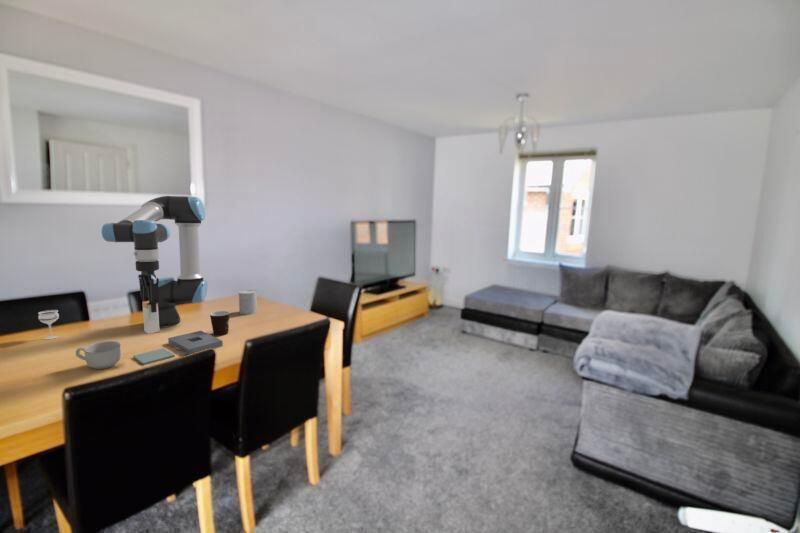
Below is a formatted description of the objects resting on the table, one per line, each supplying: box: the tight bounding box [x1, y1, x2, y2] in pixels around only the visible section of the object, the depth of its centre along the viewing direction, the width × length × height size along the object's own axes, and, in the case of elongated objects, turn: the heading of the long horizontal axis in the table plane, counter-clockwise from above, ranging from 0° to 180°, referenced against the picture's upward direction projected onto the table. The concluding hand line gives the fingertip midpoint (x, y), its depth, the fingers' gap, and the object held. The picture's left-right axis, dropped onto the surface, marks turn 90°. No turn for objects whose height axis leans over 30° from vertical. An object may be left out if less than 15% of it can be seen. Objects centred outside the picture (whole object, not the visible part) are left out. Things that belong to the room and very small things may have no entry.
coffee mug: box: [209, 310, 231, 337], centre depth 182 cm, size 12×9×10 cm
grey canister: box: [238, 289, 258, 316], centre depth 217 cm, size 10×10×12 cm
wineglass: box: [37, 309, 60, 340], centre depth 168 cm, size 7×7×12 cm
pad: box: [132, 347, 176, 366], centre depth 151 cm, size 11×11×1 cm
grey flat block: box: [167, 330, 224, 356], centre depth 166 cm, size 20×14×2 cm
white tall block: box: [141, 301, 161, 334], centre depth 149 cm, size 4×4×12 cm
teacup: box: [75, 340, 122, 370], centre depth 142 cm, size 14×11×8 cm
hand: (151, 318), depth 149 cm, fingers closed on white tall block, 4 cm apart
